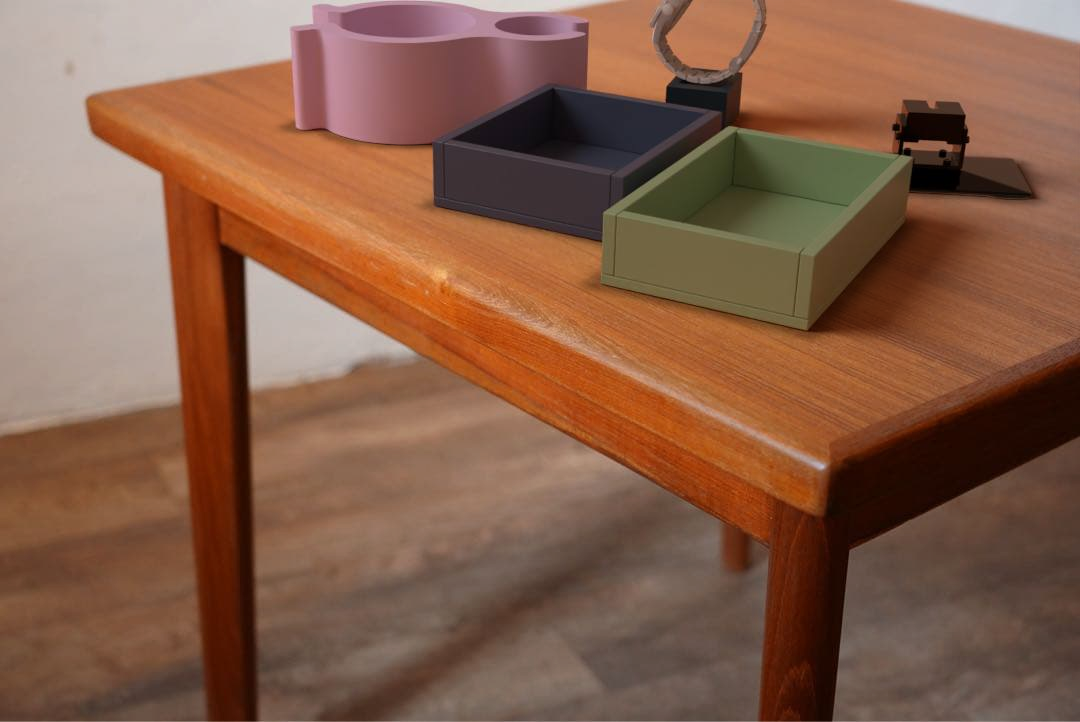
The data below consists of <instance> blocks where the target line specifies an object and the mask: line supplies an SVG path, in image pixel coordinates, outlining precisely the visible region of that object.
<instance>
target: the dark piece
mask: <svg viewBox="0 0 1080 722" xmlns="http://www.w3.org/2000/svg"><path fill="white" fill-rule="evenodd" d="M895 115H896V116H895V122H894V123H892V124H891V131H892V132H893V138H892V146H891V151H885V152H886V153H891V154H897V155H903V156H909V157H913V164H912V172H911V179H910V186H909V193H920V194H921V193H922V194H923V193H924V194H941V195H958V196H960V195H961V196H974V197H975V196H976V197H977V196H978V197H982V196H983V197H990V198H993V199H1005V200H1007V199H1008V200H1025V199H1032V196H1033V191H1032V190H1031V188H1030V186H1029V184H1028V182H1027V181H1026V180H1025V177H1024V175H1023V174H1022V172H1021V170H1020V168H1019V167H1018V165H1017V163H1016V161H1015V159H1014V158H1012V157H998V156H997V157H996V156H976V155H965V153H966V148H967V144H970V141H971V140H970V139H971V138H970V135H969V136H968V134H969V128H968V125H967V124H966V118H967V115H966V113H965V111H964V109H963V107H962V105H961V103H960V102H959V101H944V100H943V101H942V100H935V102H934V108H932V107H930V105H929V103H928V101H927V100H923V99H921V100H920V99H902V104H901V111H900V113H899V112H896V114H895ZM919 141H925V142H927V141H929V142H945V144H946V145H950V146H951V145H952V149H951V151H948V150H947V149H944V148H941V149H939V150H928V149H927V150H925V149H912V148H911V147H908V146H907V147H904V144H905V143H911V144H914V143H915V144H919ZM880 152H883V151H880Z"/></svg>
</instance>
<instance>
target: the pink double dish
mask: <svg viewBox="0 0 1080 722" xmlns="http://www.w3.org/2000/svg"><path fill="white" fill-rule="evenodd" d="M311 9H312V10H311V11H312V23H309V24H300V25H293V26H290V27H289V34H290V35H289V36H290V53H291V69H292V83H293V84H292V85H293V86H292V87H293V99H294V101H293V102H294V118H295V128H296V129H298V130H301V131H309V130H315V129H326V130H327V131H329V132H331V133H333V134H335V135H338V136H340V137H344V138H347V139H351V140H355V141H359V142H366V143H373V144H383V145H428V144H429V145H430V144H433V140H435V139H437V138H439V137H441V136H443V135H445V134H447V133H449V132H451V131H453V130H455V129H457V128H459V127H461V126H463V125H465V124H467V123H469V122H471V121H473V120H475V119H477V118H479V117H481V116H483V115H485V114H487V113H489V112H491V111H494V110H496V109H498V108H500V107H502V106H504V105H506V104H508V103H510V102H512V101H514V100H516V99H518V98H520V97H522V96H524V95H526V94H528V93H530V92H532V91H534V90H536V89H538V88H540V87H542V86H544V85H546V84H548V83H551V84H557V85H563V86H569V87H575V88H581V89H587V90H588V69H589V67H588V66H589V35H590V20H589V19H586V18H583V17H580V16H577V15H573V14H567V13H560V12H553V11H552V12H550V11H493V10H485V9H480V8H477V7H473V6H469V5H466V4H465V5H464V4H458V3H454V2H453V3H452V2H444V1H432V0H379V1H369V2H359V3H354V4H353V3H352V4H348V5H342V6H339V5H332V4H328V3H318V4H314V5H311Z"/></svg>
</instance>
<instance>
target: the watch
mask: <svg viewBox="0 0 1080 722" xmlns="http://www.w3.org/2000/svg"><path fill="white" fill-rule="evenodd" d="M693 1H694V0H661V1H660V3H659V4H658V6H657V8H656V10H655V12H654V13H653V15H652V17H651V19H650V21H649V24H648V25H649V27H650V28H652V29H653V32H652V37H651V41H652V44H653V48H654V50H655V53H657V54H656V55H657V57H658V58H659V60H660V61H661V64H663V65H664V67H665V68H666V69H668V71H669V72H670V73H672V74H674V77H673V78H672V80H671V81H670V82H669V83H668V84H667V85H666V87H665V101H664V102H665V103H671V104H677V105H683V106H689V107H695V108H701V109H707V110H713V111H719V112H722V124H721V131H722V130H724V129H725V128H727V127H728V126H733V125H734V123H735V121H737V119H738V117H739V116H740V113H741V112H740V111H741V100H742V99H741V98H742V86H743V75H744V74H743V71H741V69H742V68H743V67H744V66H745V65H746V63H747V62H748V60H749V59H750V58H751V56H752V55H753V54H754V52H755V51H756V49H757V47H758V46H759V44H760V42H761V40H762V38H763V36H764V34H765V31H766V28H767V25H768V24H767V23H766V21H767V5H766V0H752V4H753V6H754V9H755V11H756V16H755V17H754V18H753V21H752V26H751V29H750V32H749V34H748V37H747V39H746V41H745V43H744V45H743V47H742V49H741V51H740V52H739V54H738V55H737V56H735V57H732V58H731V60H729V62H728V68H725V69H721V70H720V69H711V68H702V67H701V68H699V67H691V66H689V65H687V64H686V63H683V62H682V60H681V59H680V58H679V57H678V56H677V55H675V54H674V51H673V50H672V47H671V46H670V44H668V39H667V36H668V35H669V33H670V32H671V31H672V30H673V29H674V27H676V25H677V23H679V21H680V20H681V18H682V17H683V15H684V14H685V12H686V11H687V9H689V7H690V6H691V4H692V2H693Z"/></svg>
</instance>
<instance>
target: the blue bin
mask: <svg viewBox="0 0 1080 722" xmlns="http://www.w3.org/2000/svg"><path fill="white" fill-rule="evenodd" d="M665 102H666V101H659V100H651V99H647V98H641V97H636V96H635V97H634V96H630V95H629V96H628V95H622V94H616V93H611V92H606V91H605V92H603V91H600V90H599V91H598V90H592V89H588V88H587V89H581V88H575V87H569V86H563V85H557V84H551V83H548V84H546V85H544V86H542V87H540V88H538V89H536V90H534V91H532V92H530V93H528V94H526V95H524V96H522V97H520V98H518V99H516V100H514V101H512V102H510V103H508V104H506V105H504V106H502V107H500V108H498V109H496V110H494V111H491V112H489V113H487V114H485V115H483V116H481V117H479V118H477V119H475V120H473V121H471V122H469V123H467V124H465V125H463V126H461V127H459V128H457V129H455V130H453V131H451V132H449V133H447V134H445V135H443V136H441V137H439V138H437V139H435V140H433V143H432V174H433V175H432V183H433V185H432V189H433V191H432V192H433V194H432V195H433V206H435V207H441V208H445V209H450V210H455V211H459V212H464V213H468V214H473V215H477V216H482V217H487V218H492V219H497V220H501V221H505V222H510V223H516V224H518V225H519V224H520V225H525V226H528V227H534V228H539V229H542V230H543V229H544V230H548V231H551V232H557V233H562V234H565V235H566V234H567V235H571V236H576V237H580V238H585V239H590V240H595V241H600V242H602V238H603V213H604V212H605V211H606V210H608V209H609V208H611V207H612V206H614V205H615V204H616V203H618V202H619V201H621V200H622V199H624V198H625V197H627V196H628V195H630V194H631V193H632V192H634V191H635V190H637V189H638V188H640V187H641V186H643V185H644V184H645V183H647V182H648V181H650V180H651V179H653V178H654V177H656V176H657V175H659V174H660V173H661V172H663V171H664V170H666V169H667V168H669V167H670V166H672V165H673V164H675V163H676V162H677V161H679V160H680V159H682V158H683V157H685V156H686V155H688V154H689V153H690V152H692V151H693V150H695V149H696V148H698V147H699V146H701V145H702V144H704V143H705V142H706V141H708V140H709V139H711V138H712V137H714V136H715V135H717V134H718V133H719V132H721V124H722V112H719V111H713V110H707V109H701V108H695V107H689V106H683V105H677V104H671V103H665Z"/></svg>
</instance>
